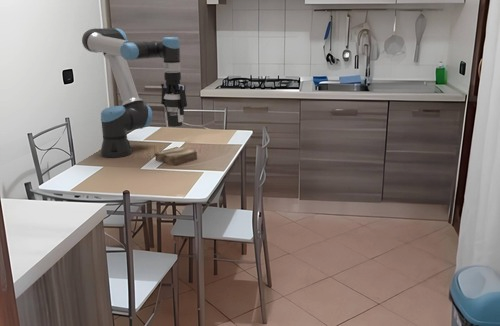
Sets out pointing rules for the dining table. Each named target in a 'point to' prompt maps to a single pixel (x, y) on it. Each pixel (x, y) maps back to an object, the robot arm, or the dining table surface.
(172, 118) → the coffee cup
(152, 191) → the dining table surface
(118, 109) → the robot arm
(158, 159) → the pedestal
